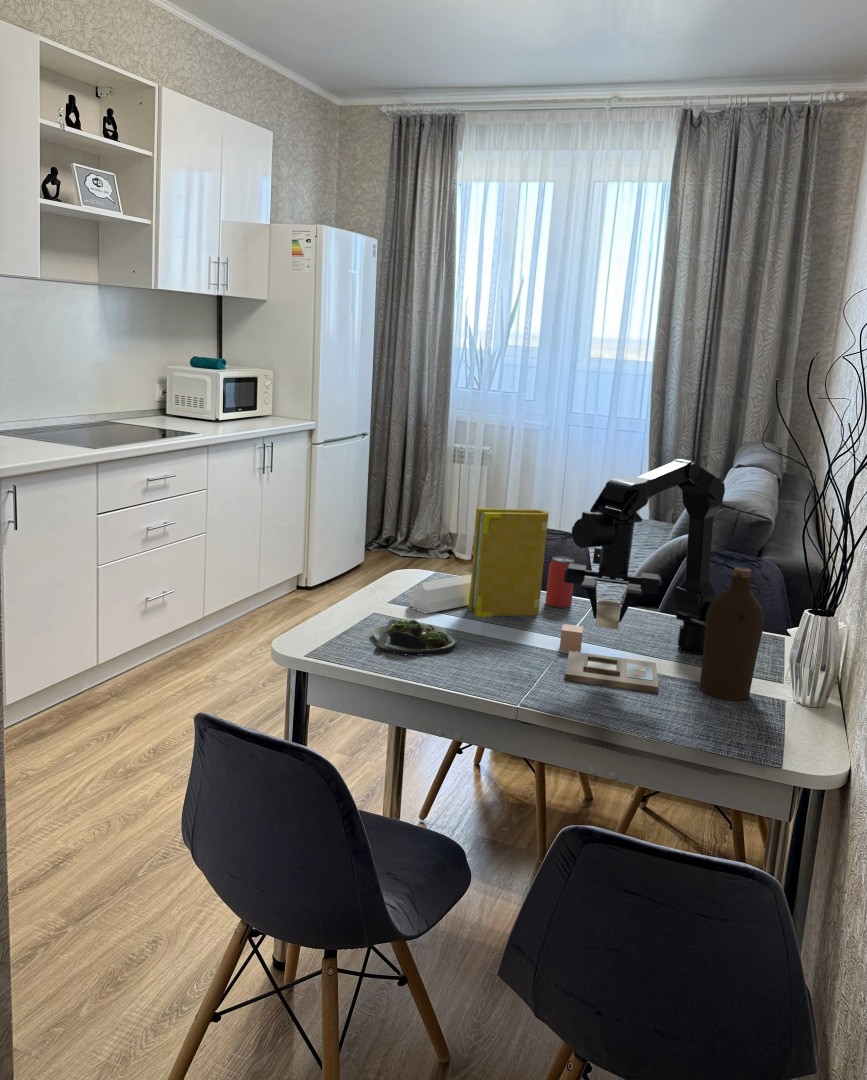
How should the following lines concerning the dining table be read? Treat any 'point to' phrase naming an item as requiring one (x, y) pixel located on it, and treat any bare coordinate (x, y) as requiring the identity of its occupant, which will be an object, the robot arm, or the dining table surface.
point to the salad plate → (413, 638)
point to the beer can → (559, 583)
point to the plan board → (612, 671)
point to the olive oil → (732, 640)
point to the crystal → (442, 594)
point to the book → (508, 561)
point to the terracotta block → (571, 637)
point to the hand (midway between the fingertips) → (607, 619)
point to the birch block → (608, 613)
